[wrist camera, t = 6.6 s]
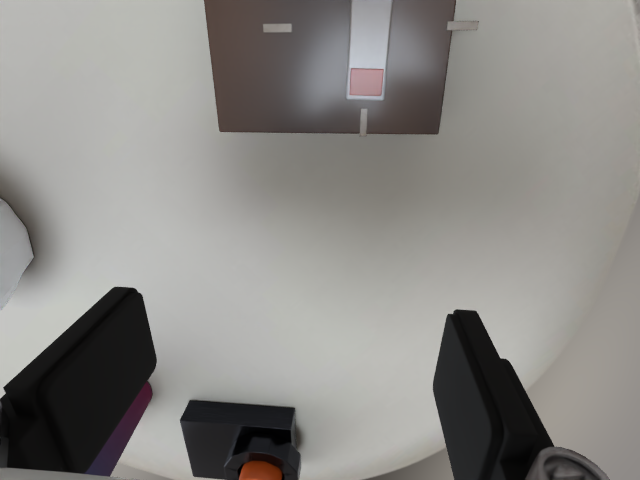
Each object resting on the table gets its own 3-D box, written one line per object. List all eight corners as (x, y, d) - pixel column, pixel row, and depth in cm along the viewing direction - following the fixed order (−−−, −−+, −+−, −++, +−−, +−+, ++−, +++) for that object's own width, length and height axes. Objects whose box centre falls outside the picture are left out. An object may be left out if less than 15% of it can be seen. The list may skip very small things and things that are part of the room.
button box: (303, 408, 33) (296, 449, 30) (304, 464, 37) (299, 507, 33) (189, 400, 34) (170, 438, 31) (201, 455, 38) (185, 496, 34)
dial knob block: (477, -90, 18) (500, -120, 15) (447, 128, 22) (460, 137, 19) (215, -80, 19) (189, -106, 16) (235, 126, 23) (218, 134, 20)
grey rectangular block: (355, -51, 16) (354, -87, 12) (391, -51, 16) (402, -88, 12) (347, 93, 19) (345, 100, 15) (379, 94, 19) (384, 101, 15)
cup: (97, 349, 33) (-86, 548, 19) (169, 378, 33) (42, 590, 20) (85, 396, 35) (-81, 599, 22) (152, 422, 36) (30, 633, 23)
